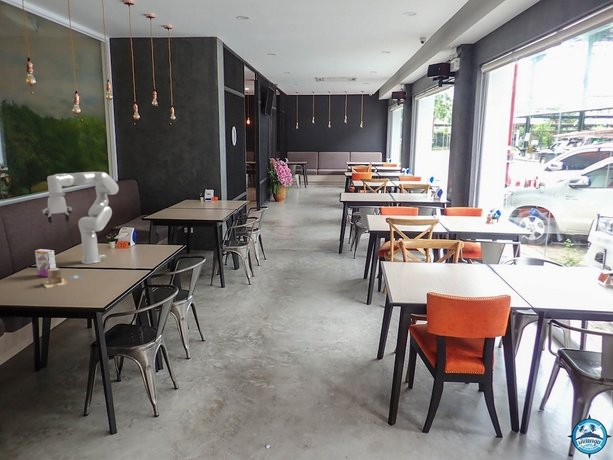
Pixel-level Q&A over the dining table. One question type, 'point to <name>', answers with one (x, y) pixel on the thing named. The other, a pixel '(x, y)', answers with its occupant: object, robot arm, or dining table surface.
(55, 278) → the walnut block
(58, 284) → the cork pad
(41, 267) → the candy bar box
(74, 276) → the tile
